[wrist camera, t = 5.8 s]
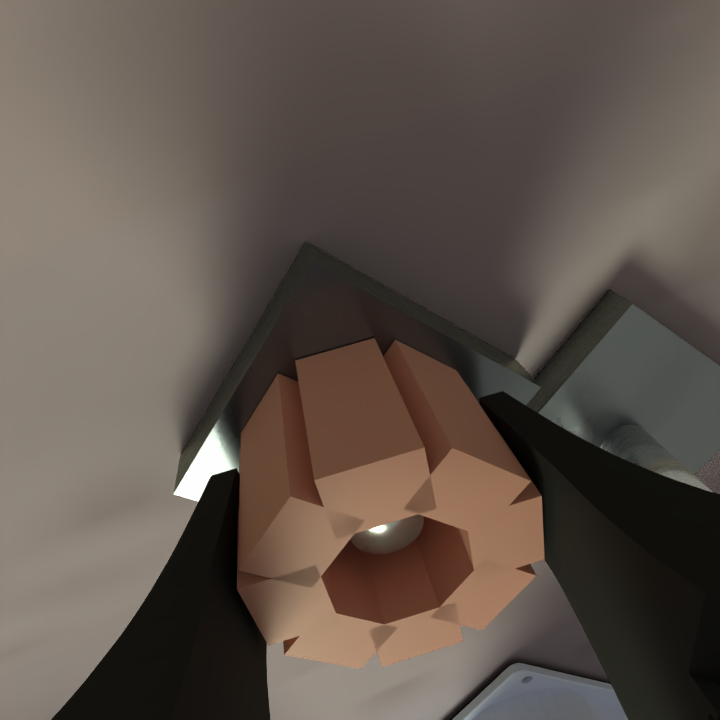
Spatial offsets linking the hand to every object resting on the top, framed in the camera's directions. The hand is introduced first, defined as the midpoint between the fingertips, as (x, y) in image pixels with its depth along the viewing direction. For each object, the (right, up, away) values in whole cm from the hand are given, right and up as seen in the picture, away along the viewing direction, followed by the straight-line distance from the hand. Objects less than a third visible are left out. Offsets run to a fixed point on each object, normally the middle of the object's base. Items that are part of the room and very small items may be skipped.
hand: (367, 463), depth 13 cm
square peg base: (0, +1, +2) cm, 2 cm away
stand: (+8, 0, +4) cm, 9 cm away
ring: (0, 0, +1) cm, 1 cm away
